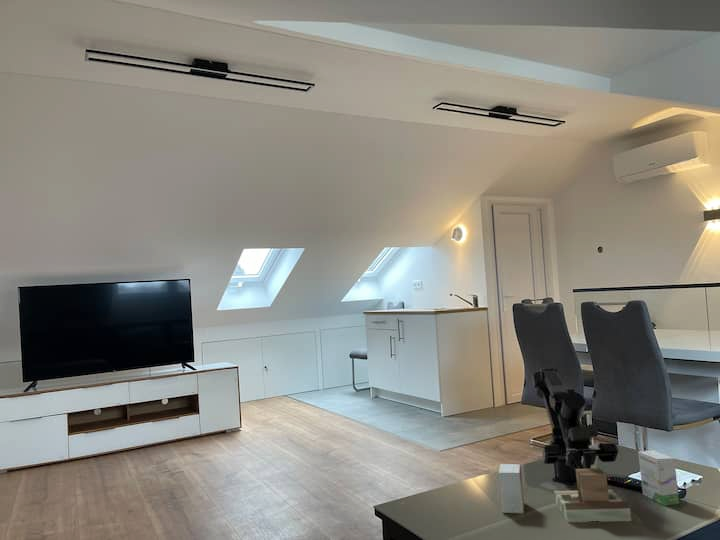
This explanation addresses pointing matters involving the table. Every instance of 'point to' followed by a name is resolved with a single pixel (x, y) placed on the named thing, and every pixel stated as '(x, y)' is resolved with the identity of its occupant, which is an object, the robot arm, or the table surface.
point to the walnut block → (592, 485)
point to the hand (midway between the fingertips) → (588, 483)
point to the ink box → (658, 477)
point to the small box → (511, 488)
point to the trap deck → (592, 508)
